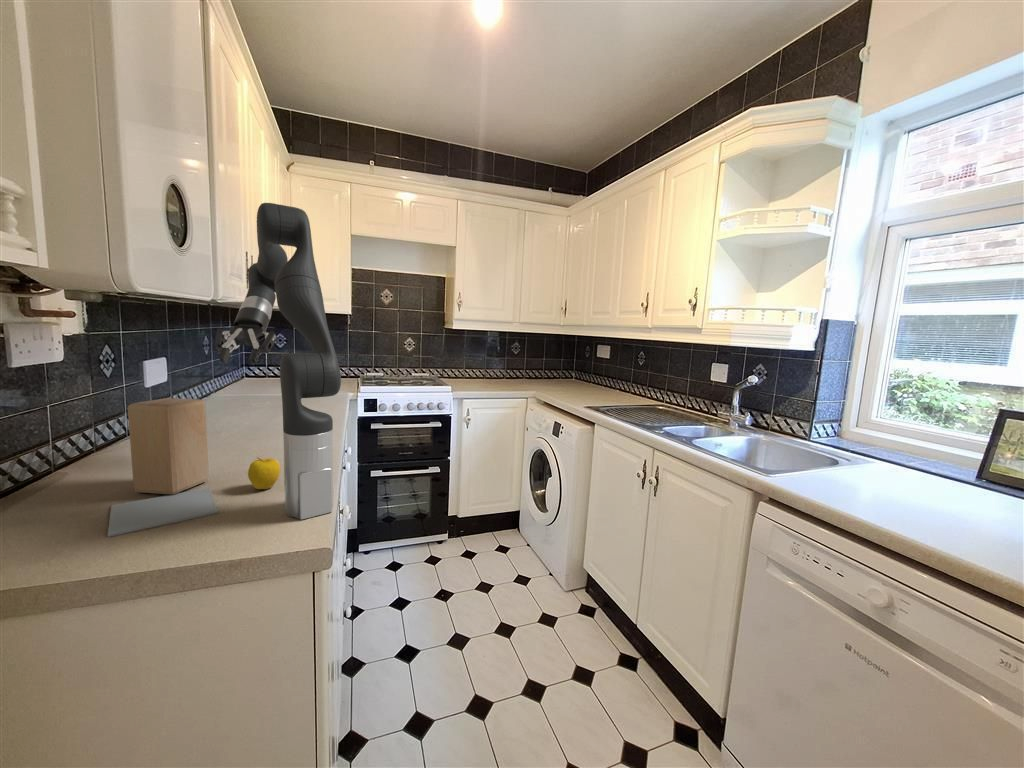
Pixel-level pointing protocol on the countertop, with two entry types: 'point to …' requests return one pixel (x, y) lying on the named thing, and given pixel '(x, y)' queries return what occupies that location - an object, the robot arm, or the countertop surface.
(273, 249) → the robot arm
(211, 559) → the countertop surface
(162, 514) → the mat
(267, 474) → the apple
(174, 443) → the block
